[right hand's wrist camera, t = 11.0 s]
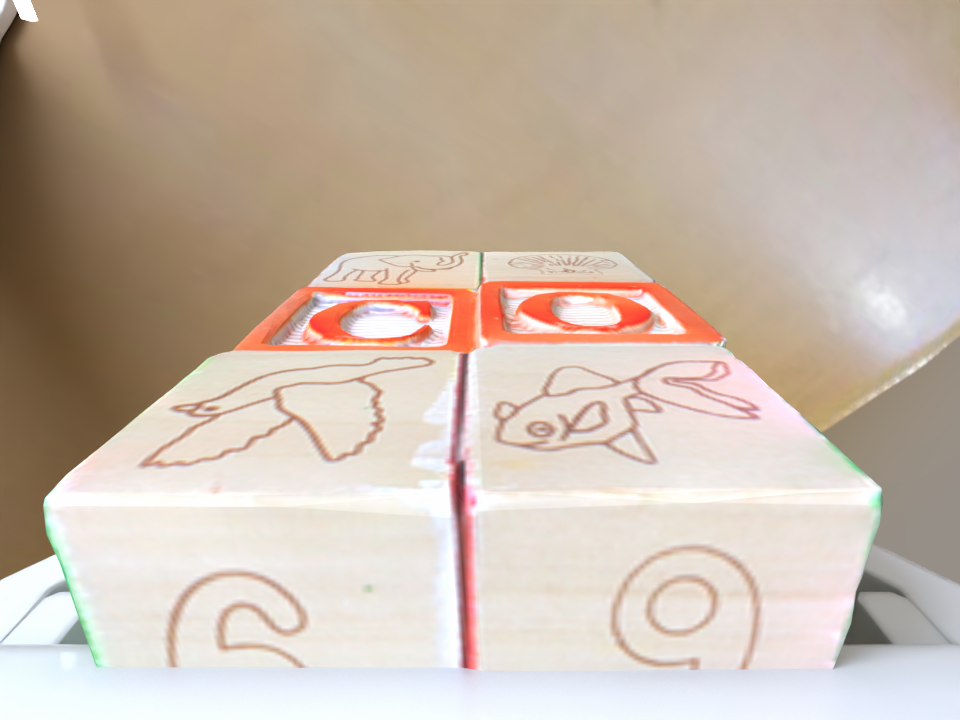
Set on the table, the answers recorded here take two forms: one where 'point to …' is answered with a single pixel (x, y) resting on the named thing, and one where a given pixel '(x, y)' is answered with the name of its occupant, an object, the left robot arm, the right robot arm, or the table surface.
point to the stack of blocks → (469, 487)
